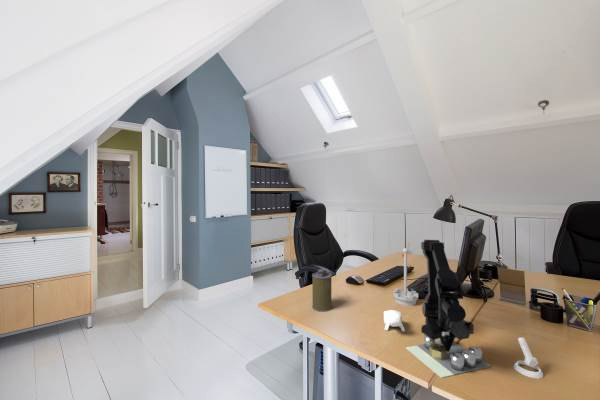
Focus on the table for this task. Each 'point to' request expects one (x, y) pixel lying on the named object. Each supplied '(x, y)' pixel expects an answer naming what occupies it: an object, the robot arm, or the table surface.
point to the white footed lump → (393, 319)
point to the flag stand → (405, 288)
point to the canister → (322, 290)
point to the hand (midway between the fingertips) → (447, 351)
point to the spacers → (460, 356)
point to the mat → (442, 366)
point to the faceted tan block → (437, 351)
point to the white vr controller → (527, 361)
